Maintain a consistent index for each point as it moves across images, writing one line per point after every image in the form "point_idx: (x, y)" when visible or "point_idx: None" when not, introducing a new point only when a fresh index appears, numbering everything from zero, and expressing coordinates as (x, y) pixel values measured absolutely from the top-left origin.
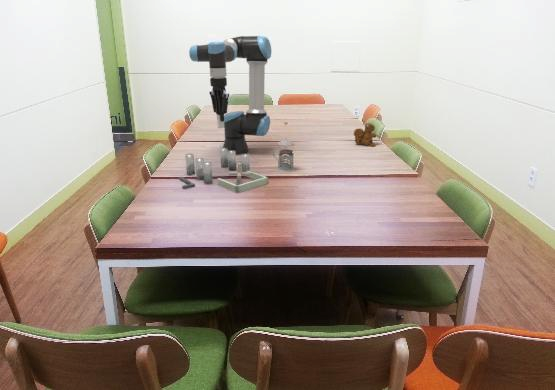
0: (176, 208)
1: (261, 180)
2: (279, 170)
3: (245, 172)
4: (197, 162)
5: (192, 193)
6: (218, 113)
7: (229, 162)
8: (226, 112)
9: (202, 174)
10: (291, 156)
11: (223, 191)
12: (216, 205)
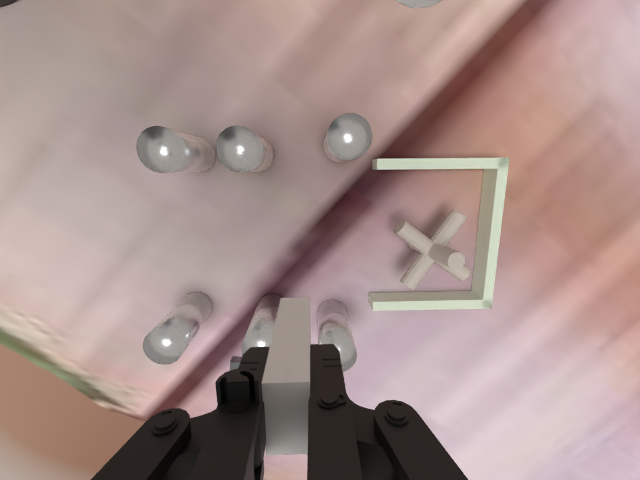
0: None
1: (502, 194)
2: (418, 2)
3: (453, 232)
4: None
5: (379, 395)
6: (263, 445)
7: (254, 171)
8: (416, 421)
9: None
10: None
11: (435, 321)
12: (508, 394)
